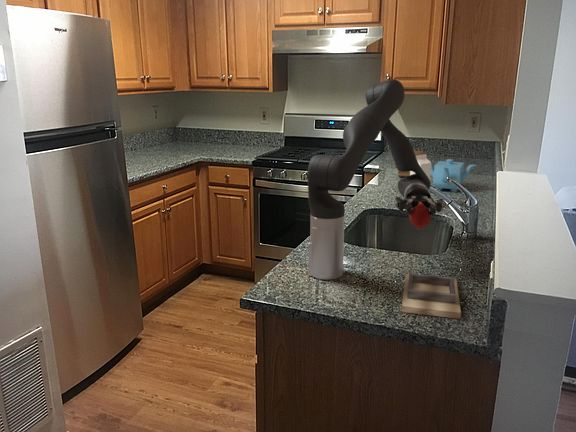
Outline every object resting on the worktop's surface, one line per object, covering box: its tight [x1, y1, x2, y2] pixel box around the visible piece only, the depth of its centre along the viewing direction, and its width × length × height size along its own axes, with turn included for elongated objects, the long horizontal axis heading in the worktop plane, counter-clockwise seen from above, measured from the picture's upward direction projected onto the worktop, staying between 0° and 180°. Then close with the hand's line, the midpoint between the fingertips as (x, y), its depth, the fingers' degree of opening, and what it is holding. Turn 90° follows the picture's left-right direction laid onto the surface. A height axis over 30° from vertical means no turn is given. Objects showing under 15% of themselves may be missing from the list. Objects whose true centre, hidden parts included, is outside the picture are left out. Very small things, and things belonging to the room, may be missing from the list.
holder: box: [401, 273, 462, 320], centre depth 119 cm, size 13×20×4 cm, turn 164°
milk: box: [410, 153, 432, 181], centre depth 201 cm, size 6×6×22 cm
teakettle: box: [430, 158, 477, 193], centre depth 232 cm, size 19×19×15 cm
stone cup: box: [397, 149, 426, 178], centre depth 263 cm, size 15×12×15 cm
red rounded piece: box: [408, 202, 432, 231], centre depth 133 cm, size 6×6×8 cm
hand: (421, 211), depth 130 cm, fingers closed on red rounded piece, 5 cm apart
